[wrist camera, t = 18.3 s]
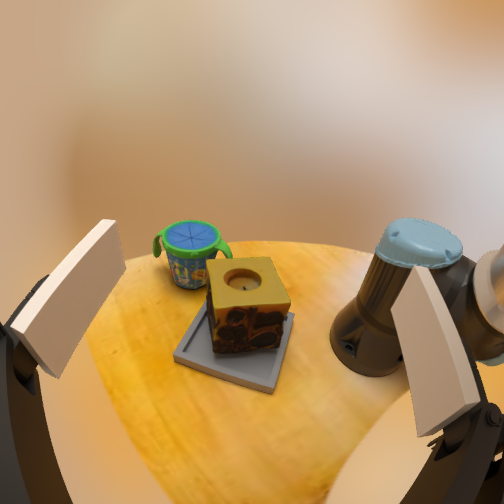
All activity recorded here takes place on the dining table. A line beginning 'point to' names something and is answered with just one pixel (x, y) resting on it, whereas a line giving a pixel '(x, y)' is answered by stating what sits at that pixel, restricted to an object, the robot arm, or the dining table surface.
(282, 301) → the candle
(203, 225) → the snack cup
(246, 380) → the tray
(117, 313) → the dining table surface
